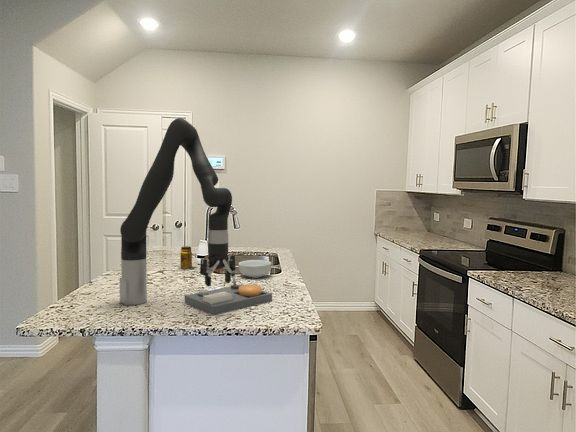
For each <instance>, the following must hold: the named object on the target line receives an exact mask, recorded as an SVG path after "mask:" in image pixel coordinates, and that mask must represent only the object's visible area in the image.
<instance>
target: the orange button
mask: <svg viewBox="0 0 576 432" xmlns="http://www.w3.org/2000/svg"><path fill="white" fill-rule="evenodd" d="M262 288H263V287H262V286H261V285H258V284H242V286H240V287H239V295H242V296H258V295H261V294H262V291H263V289H262Z"/></svg>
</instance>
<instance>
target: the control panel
mask: <svg viewBox="0 0 576 432" xmlns="http://www.w3.org/2000/svg"><path fill="white" fill-rule="evenodd" d="M242 285H243V284H236V285H234V284H232V285H230V286H227V287H222V288H216V289H211V290H208V295H210V294H215V293H220V292H227V293H230V294H233V300H228V301H224V302H219V303H215V304H209V303H207V302H204V301H203V296H199V292H195V293H189V294H185V295H184V304H186V305H188V306H191V307H194V308H196V309H198V310H200V311H202V310H203V311H202V312H205V313H207V312H208V314H209V313H210V314H209V315H213V316H215V315H220V314H224V313H227V312H232V311H235V310H236V311H237V310H239V309H240V310H241V309H245V308H248V307H252V306H256V305H260V304H265V303H269V302H273V293H271V292H268V291H265V290H262V294H261V295H258V296H242V295H239V287H240V286H242Z"/></svg>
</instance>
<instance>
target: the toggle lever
mask: <svg viewBox="0 0 576 432" xmlns="http://www.w3.org/2000/svg"><path fill="white" fill-rule="evenodd" d="M231 280H232V285H237V280H236V273H235V272H234V271H232V272H231Z"/></svg>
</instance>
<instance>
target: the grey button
mask: <svg viewBox="0 0 576 432" xmlns="http://www.w3.org/2000/svg"><path fill="white" fill-rule="evenodd" d="M208 291H209V290H207V289H199V290H198V293H199V296H205V295H208Z"/></svg>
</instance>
